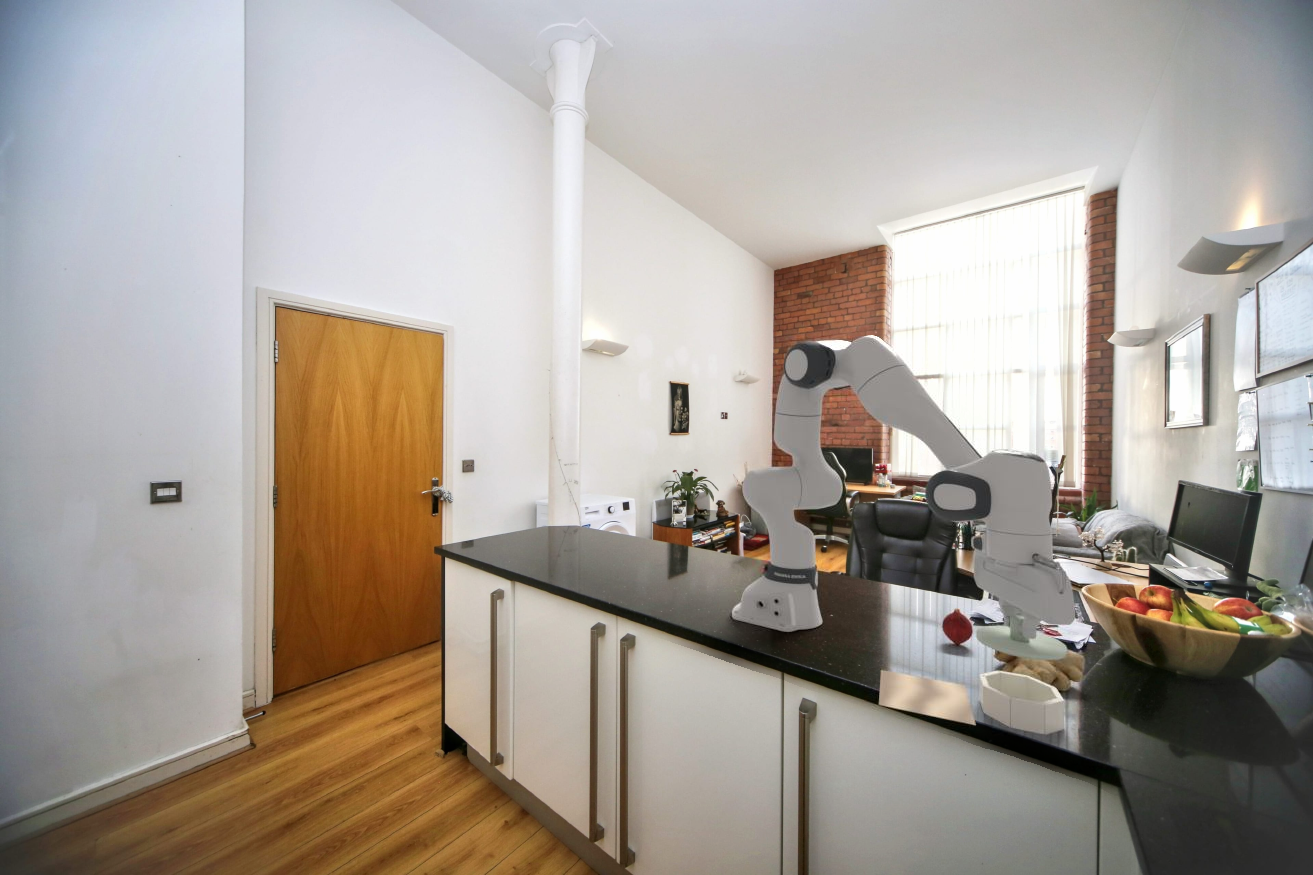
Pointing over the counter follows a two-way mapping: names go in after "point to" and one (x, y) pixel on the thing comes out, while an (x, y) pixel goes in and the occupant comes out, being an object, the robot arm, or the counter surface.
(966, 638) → the onion
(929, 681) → the mat
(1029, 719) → the bowl
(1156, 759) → the counter surface
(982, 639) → the lid
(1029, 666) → the ginger root
